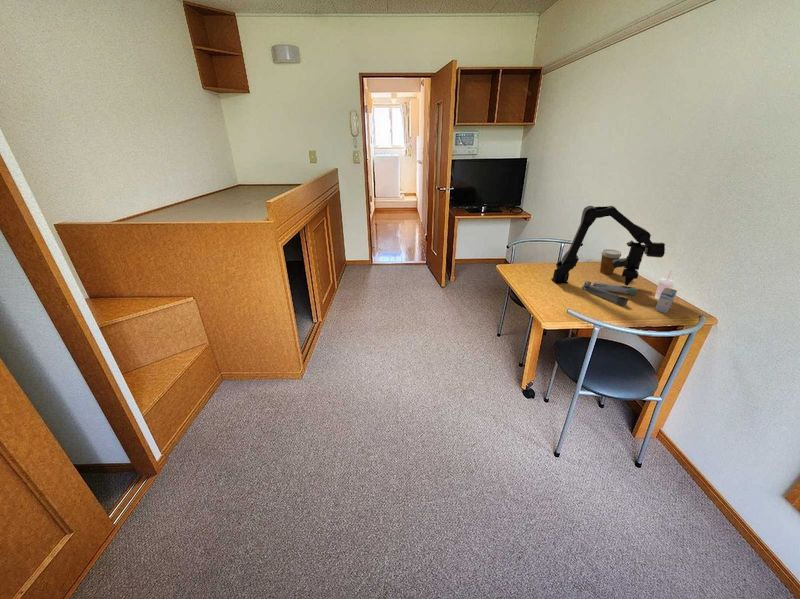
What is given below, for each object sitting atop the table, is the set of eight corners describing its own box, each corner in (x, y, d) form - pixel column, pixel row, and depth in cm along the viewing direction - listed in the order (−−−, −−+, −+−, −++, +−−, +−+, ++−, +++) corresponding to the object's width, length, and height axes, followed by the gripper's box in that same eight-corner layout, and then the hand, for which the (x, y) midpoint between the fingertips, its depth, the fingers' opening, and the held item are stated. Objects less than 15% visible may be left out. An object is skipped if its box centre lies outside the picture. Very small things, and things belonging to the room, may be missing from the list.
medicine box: (658, 304, 151) (665, 287, 147) (670, 307, 148) (677, 290, 145) (654, 310, 146) (661, 292, 143) (666, 313, 144) (673, 295, 140)
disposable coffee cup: (619, 275, 182) (625, 254, 177) (602, 275, 183) (607, 254, 177) (610, 269, 191) (615, 249, 186) (593, 269, 191) (598, 249, 186)
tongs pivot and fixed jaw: (578, 288, 169) (580, 281, 167) (585, 286, 171) (587, 279, 169) (622, 306, 150) (624, 299, 149) (629, 304, 152) (631, 297, 150)
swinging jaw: (592, 288, 167) (593, 283, 166) (592, 286, 169) (593, 281, 168) (634, 295, 160) (636, 289, 158) (634, 293, 162) (636, 287, 160)
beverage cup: (660, 301, 154) (671, 273, 147) (649, 296, 159) (659, 268, 153) (672, 300, 154) (682, 272, 148) (660, 295, 160) (670, 267, 154)
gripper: (617, 247, 171) (609, 275, 177) (614, 258, 157) (605, 288, 164) (643, 251, 165) (634, 280, 172) (642, 262, 151) (632, 293, 158)
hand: (626, 285), depth 166 cm, fingers closed
